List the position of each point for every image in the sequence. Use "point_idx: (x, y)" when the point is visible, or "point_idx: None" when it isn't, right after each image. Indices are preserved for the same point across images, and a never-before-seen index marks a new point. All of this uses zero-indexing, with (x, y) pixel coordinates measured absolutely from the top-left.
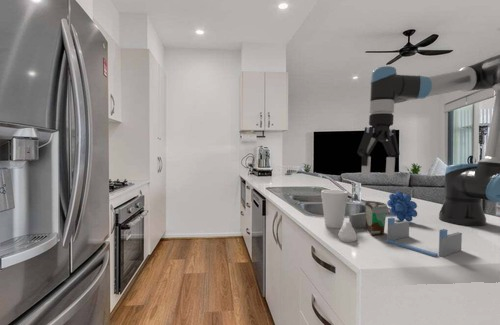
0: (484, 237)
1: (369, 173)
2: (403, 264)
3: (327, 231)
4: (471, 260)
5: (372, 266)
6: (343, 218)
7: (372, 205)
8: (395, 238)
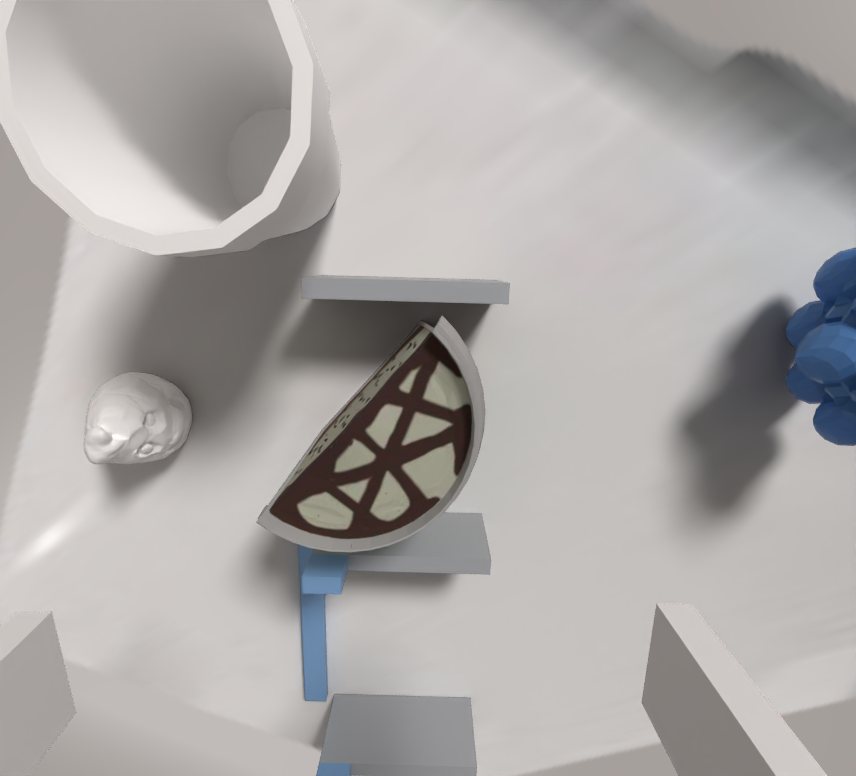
0: None
1: (33, 754)
2: (141, 675)
3: None
4: None
5: None
6: (298, 229)
7: (355, 450)
8: None
